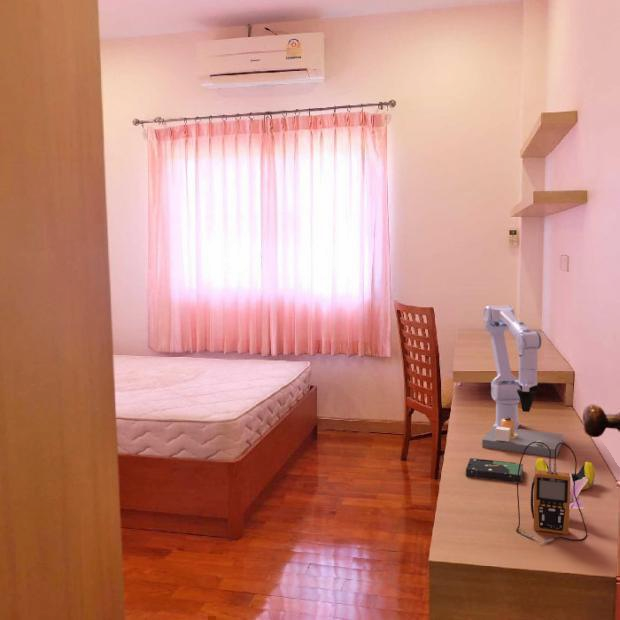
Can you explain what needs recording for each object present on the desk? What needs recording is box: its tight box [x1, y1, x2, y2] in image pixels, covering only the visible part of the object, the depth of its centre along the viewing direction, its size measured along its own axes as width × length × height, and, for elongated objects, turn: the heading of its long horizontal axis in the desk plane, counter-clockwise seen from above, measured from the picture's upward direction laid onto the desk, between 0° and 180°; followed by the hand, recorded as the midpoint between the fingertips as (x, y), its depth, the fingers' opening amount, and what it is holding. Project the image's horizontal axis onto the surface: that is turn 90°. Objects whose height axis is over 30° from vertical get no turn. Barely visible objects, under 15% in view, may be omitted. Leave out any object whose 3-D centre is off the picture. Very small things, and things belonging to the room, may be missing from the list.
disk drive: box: [465, 457, 524, 484], centre depth 171 cm, size 10×3×15 cm
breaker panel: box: [481, 426, 564, 458], centre depth 198 cm, size 18×22×4 cm
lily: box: [568, 472, 588, 514], centre depth 143 cm, size 12×12×10 cm
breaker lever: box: [495, 427, 510, 442], centre depth 193 cm, size 3×4×4 cm
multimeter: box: [515, 442, 588, 545], centre depth 131 cm, size 15×10×20 cm
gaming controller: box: [534, 457, 596, 491], centre depth 163 cm, size 15×6×10 cm
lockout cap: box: [501, 417, 514, 437], centre depth 199 cm, size 4×4×6 cm
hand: (527, 408), depth 202 cm, fingers open, 7 cm apart
